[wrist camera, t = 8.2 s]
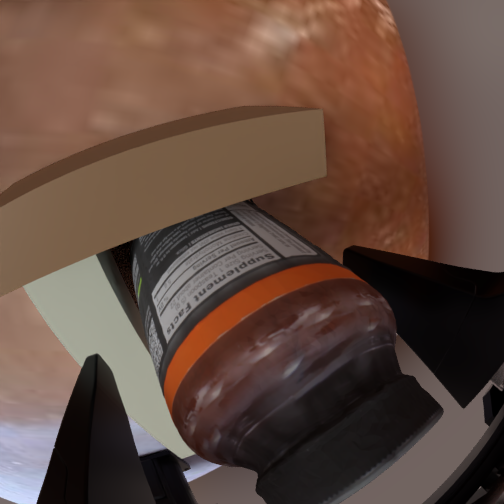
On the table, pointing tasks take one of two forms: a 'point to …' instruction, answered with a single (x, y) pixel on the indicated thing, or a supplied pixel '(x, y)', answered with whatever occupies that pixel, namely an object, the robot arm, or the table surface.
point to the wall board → (140, 227)
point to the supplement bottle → (275, 356)
